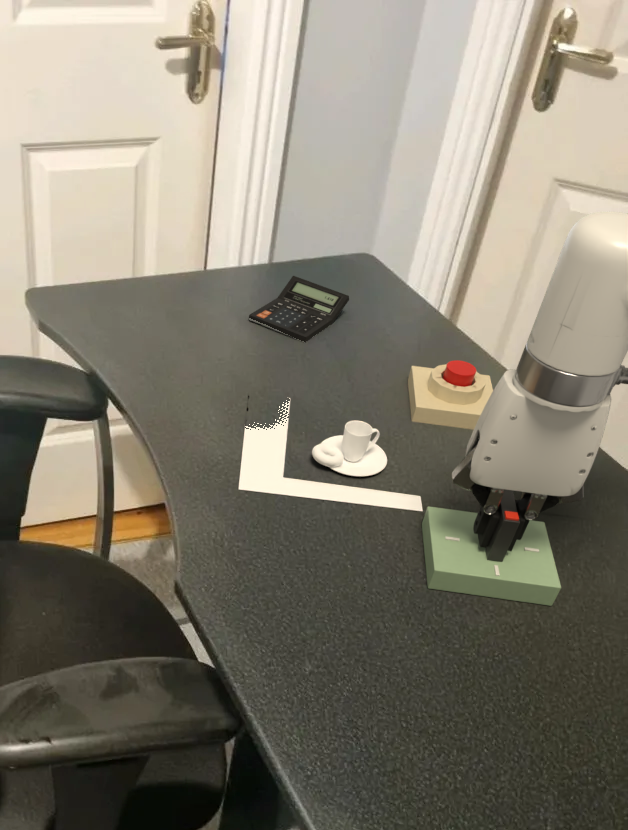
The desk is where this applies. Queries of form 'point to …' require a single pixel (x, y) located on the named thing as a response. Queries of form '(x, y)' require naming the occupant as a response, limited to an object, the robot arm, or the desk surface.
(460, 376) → the button
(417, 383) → the button base
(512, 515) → the knob
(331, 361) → the desk surface
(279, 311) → the calculator
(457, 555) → the panel
